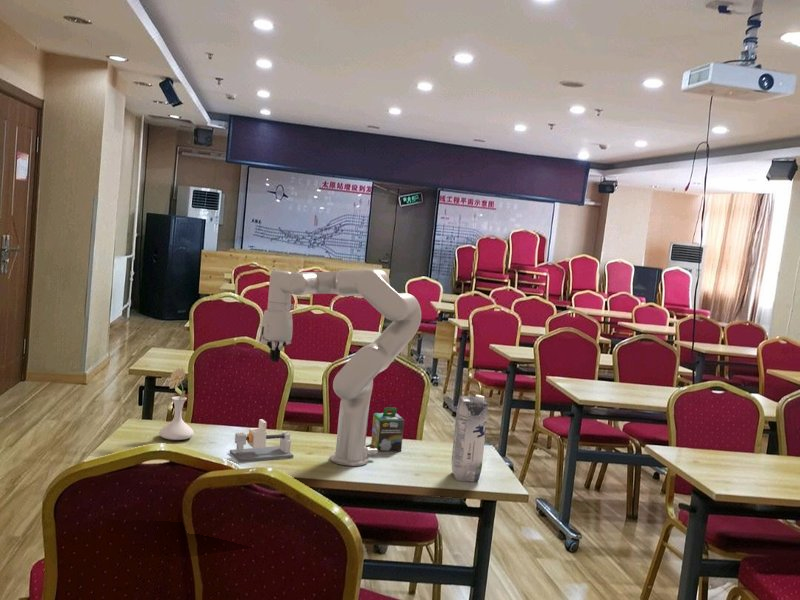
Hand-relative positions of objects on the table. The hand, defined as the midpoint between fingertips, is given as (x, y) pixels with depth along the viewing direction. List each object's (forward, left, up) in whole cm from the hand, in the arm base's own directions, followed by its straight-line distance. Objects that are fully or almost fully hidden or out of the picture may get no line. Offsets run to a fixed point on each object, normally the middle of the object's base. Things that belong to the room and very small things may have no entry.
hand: (274, 361), depth 247 cm
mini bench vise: (+6, +10, -29) cm, 31 cm away
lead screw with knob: (+5, +10, -25) cm, 27 cm away
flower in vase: (+27, -14, -29) cm, 42 cm away
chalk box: (-40, +12, -29) cm, 51 cm away
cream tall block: (+8, +10, -26) cm, 29 cm away
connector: (+13, +10, -28) cm, 33 cm away
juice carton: (-49, +47, -29) cm, 74 cm away
